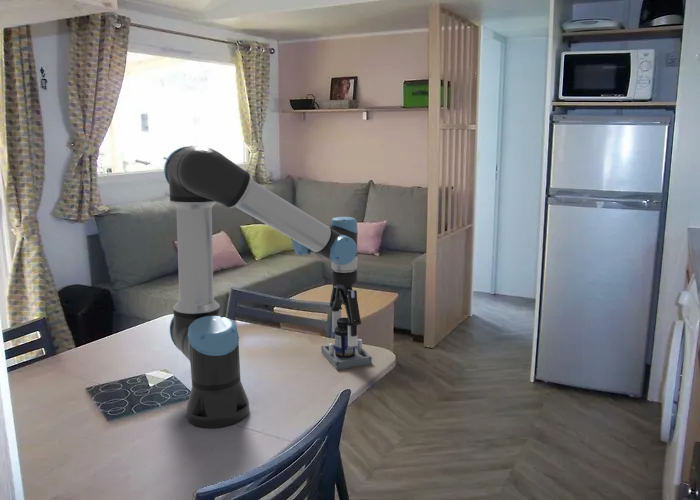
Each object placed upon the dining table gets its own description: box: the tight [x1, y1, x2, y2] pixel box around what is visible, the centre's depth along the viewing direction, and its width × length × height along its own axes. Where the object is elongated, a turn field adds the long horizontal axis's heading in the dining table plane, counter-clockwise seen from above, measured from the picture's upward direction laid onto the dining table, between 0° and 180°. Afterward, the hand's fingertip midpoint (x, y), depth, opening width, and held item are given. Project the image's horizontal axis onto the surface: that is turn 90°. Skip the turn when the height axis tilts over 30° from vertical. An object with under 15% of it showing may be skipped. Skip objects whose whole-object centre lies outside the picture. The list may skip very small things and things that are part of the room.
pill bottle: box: [334, 317, 355, 358], centre depth 180 cm, size 6×6×11 cm
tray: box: [320, 338, 373, 370], centre depth 181 cm, size 14×11×5 cm
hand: (344, 338), depth 180 cm, fingers open, 13 cm apart
